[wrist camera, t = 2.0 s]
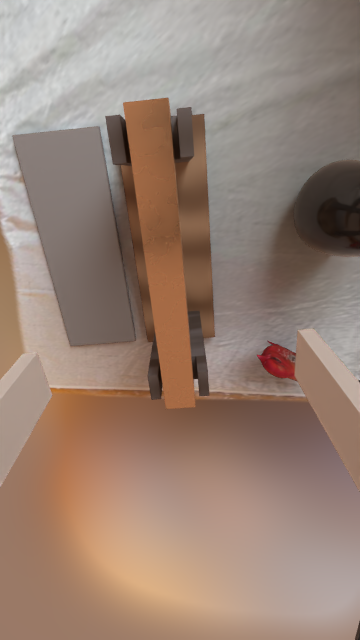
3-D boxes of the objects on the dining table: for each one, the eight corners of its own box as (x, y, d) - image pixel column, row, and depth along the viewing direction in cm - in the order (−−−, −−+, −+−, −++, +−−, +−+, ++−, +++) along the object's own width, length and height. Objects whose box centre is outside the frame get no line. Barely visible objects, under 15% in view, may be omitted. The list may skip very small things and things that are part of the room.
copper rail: (131, 112, 24) (123, 102, 21) (170, 108, 24) (168, 97, 20) (167, 384, 35) (166, 408, 32) (194, 382, 35) (195, 406, 32)
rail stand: (116, 125, 36) (71, 93, 21) (203, 116, 36) (219, 77, 21) (148, 337, 48) (134, 412, 33) (213, 332, 48) (229, 405, 33)
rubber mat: (15, 136, 37) (12, 135, 36) (99, 127, 36) (98, 126, 35) (72, 343, 49) (70, 346, 48) (135, 338, 48) (135, 340, 47)
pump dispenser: (370, 230, 41) (465, 260, 27) (292, 256, 43) (344, 296, 29) (364, 147, 37) (472, 132, 23) (277, 178, 39) (330, 182, 25)
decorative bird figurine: (251, 320, 47) (267, 355, 38) (339, 370, 51) (373, 414, 42) (239, 334, 48) (253, 372, 39) (326, 383, 52) (357, 428, 43)
